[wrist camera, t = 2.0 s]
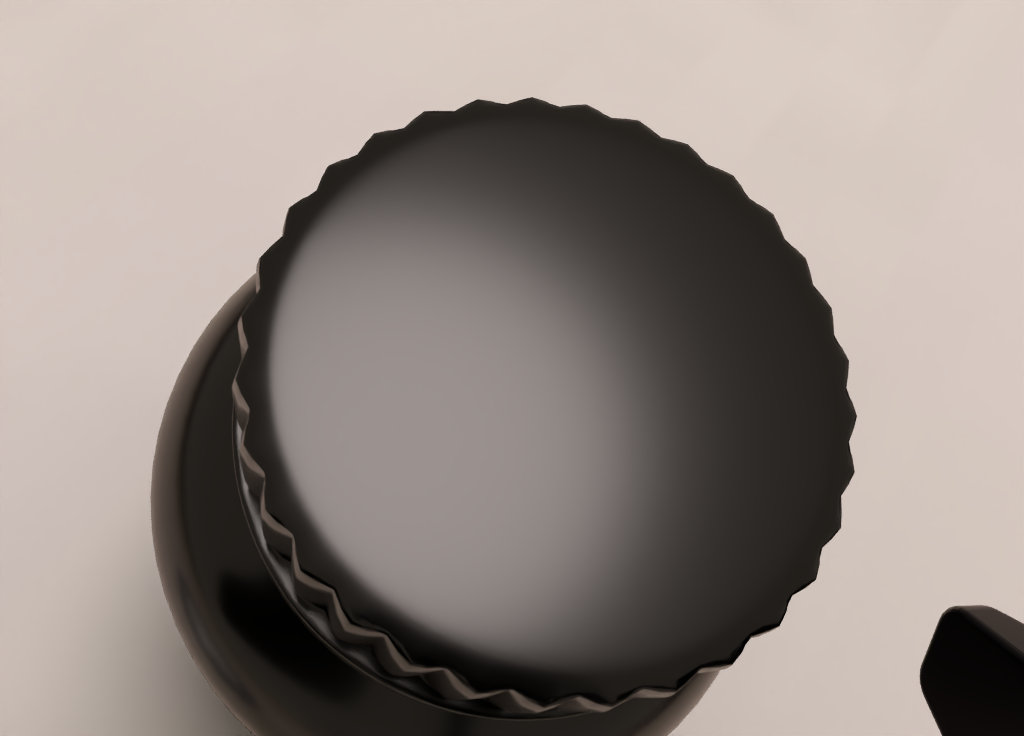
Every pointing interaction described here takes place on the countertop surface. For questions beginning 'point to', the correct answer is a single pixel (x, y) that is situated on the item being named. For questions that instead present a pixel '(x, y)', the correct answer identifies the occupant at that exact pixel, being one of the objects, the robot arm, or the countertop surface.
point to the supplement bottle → (502, 438)
